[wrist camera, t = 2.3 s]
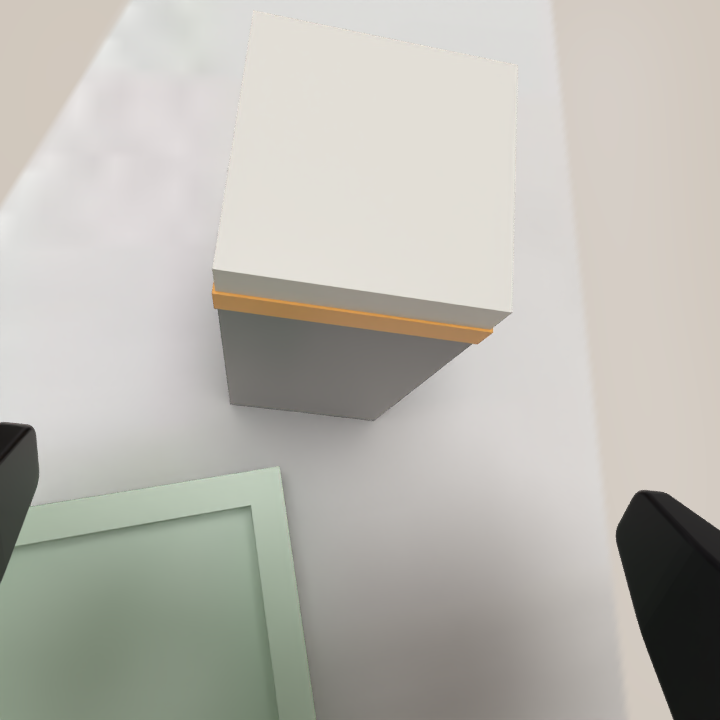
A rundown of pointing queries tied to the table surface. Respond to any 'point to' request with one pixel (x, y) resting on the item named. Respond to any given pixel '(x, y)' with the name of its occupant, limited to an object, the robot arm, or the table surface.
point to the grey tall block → (361, 217)
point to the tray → (156, 607)
